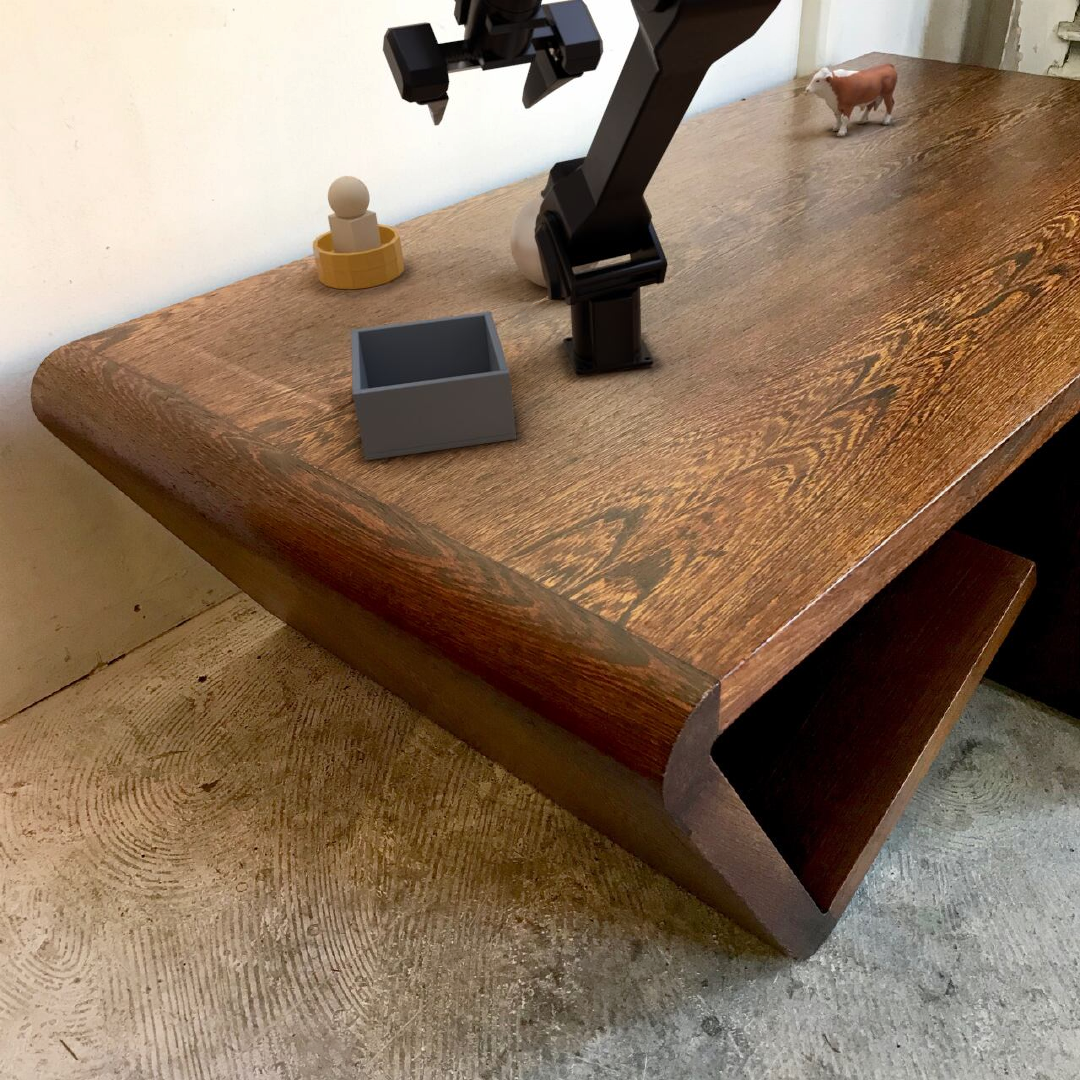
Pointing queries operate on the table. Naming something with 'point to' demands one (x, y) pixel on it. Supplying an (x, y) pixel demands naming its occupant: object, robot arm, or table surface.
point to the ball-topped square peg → (352, 217)
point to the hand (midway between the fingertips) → (480, 112)
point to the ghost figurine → (531, 243)
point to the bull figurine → (855, 92)
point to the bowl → (359, 262)
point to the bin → (431, 385)
